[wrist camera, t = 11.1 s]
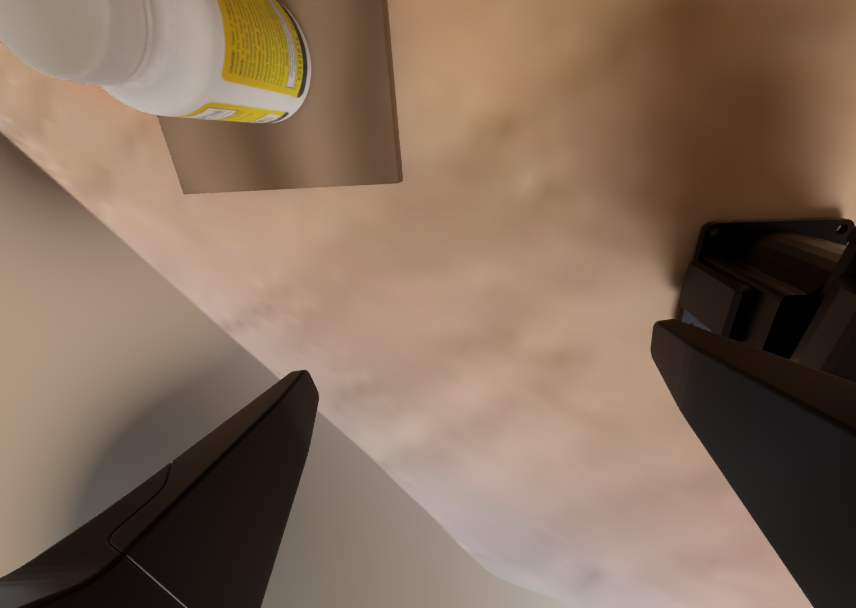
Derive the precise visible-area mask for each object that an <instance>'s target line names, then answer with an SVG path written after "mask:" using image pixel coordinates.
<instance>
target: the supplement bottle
mask: <svg viewBox="0 0 856 608" xmlns="http://www.w3.org/2000/svg"><path fill="white" fill-rule="evenodd" d="M0 41H1V43H2V44H3V45H4V46H5V47H6V48H7V49H8V50H9V51H10V52H12V53H13V54H14V55H15V56H16V57H17V58H19V59H20V60H21V61H22V62H24V63H25V64H27V65H28V66H30V67H31V68H33V69H35V70H37V71H39V72H41V73H43V74H46V75H48V76H51V77H54V78H58V79H63V80H69V81H75V82H81V83H87V84H93V85H99V86H100V87H102V88H103V89H104V90H105V91H106V92H108V93H109V94H110V95H112V96H113V97H115V98H116V99H117V100H119V101H121V102H122V103H124V104H126V105H127V106H130V107H132V108H134V109H136V110H139V111H142V112H145V113H149V114H153V115H160V116H168V117H182V118H196V119H206V120H222V121H235V122H248V123H275V122H280V121H283V120H285V119H287V118H289V117H290V116H291V115H293V114H294V113H295V112H296V111H297V110H298V109H299V108H300V106H301V105H302V103H303V102H304V100H305V98H306V95H307V93H308V90H309V86H310V80H311V58H310V52H309V48H308V45H307V41H306V39H305V36H304V34H303V32H302V30H301V28H300V26H299V24H298V22H297V21H296V19H295V18H294V17H293V15H292V14H291V13H290V12H289V11H288V9H287V8H286V7H285V6H284V5H282V4H281V3H280V2H279V1H278V0H0Z"/></svg>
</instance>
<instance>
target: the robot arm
mask: <svg viewBox="0 0 856 608" xmlns="http://www.w3.org/2000/svg"><path fill="white" fill-rule="evenodd" d="M840 225H841V228H840V229H839V230H838V231H836V232H835V230H836V228H837V227H838V226H840ZM714 228H717V231H716V233H715V234H714V235H711V236H710V232H711V230H713V229H714ZM848 242H849V243H848ZM847 243H848V245H847ZM679 304H680V306H681V309H680V313H679V317H678V320H676V319H669V320H662V321H657V322H656V323H655V324H654V326H653V332H652V341H651V355H652V358H653V360H654V362H655V364H656V366H657V368H658V370H659V372H660V373H661V375H662V377H663V379H664V381H665V383H666V385H667V387H668V389H669V391H670V393H671V394H672V396H673V398H674V400H675V402H676V404H677V406H678V407H679V409H680V411H681V413H682V414H683V416H684V417H685V419H686V420H687V422H688V423H689V425H690V426H691V428H692V429H693V431H694V432H695V434H696V435H697V437H698V438H699V440H700V441H701V443H702V444H703V445H704V447H705V448H706V450H707V451H708V453H709V454H710V456H711V457H712V459H713V460H714V462H715V463H716V465H717V466H718V468H719V469H720V470H721V472H722V473H723V475H724V476H725V478H726V479H727V481H728V482H729V484H730V485H731V487H732V488H733V490H734V491H735V493H736V494H737V495H738V497H739V498H740V500H741V501H742V503H743V504H744V506H745V507H746V509H747V510H748V512H749V513H750V515H751V516H752V518H753V519H754V521H755V522H756V523H757V525H758V526H759V528H760V529H761V531H762V532H763V534H764V535H765V537H766V538H767V540H768V541H769V543H770V544H771V546H772V547H773V548H774V550H775V551H776V553H777V554H778V556H779V557H780V559H781V560H782V562H783V563H784V565H785V566H786V568H787V569H788V571H789V572H790V573H791V575H792V576H793V578H794V579H795V581H796V582H797V584H798V585H799V587H800V588H801V590H802V591H803V593H804V594H805V596H806V597H807V598H808V600H809V601H810V603H811V604H812V606H813V607H814V608H856V226H855V225H854V222H853V221H851V220H849V219H845V218H839V217H837V218H804V219H770V220H736V221H712V222H709V223H707V224H705V225H704V226H703V227H702V229H701V232H700V236H699V240H698V243H697V247H696V251H695V255H694V259H693V261H692V262H691V263H690V264H689V267H688V271H687V275H686V279H685V283H684V286H683V290H682V294H681V298H680V302H679ZM689 323H691V325H690V324H689ZM318 402H319V394H318V390H317V388H316V386H315V384H314V382H313V380H312V378H311V375H310V373H309V372H308V371H307V370H299V371H293V372H291V373H289V374H288V375H287V376H285V377H284V378H283V379H281V380H280V381H279V382H277V383H276V384H275V385H273V386H272V387H271V388H269V389H268V390H267V391H265V392H264V393H263V394H261V395H260V396H259V397H257V398H256V399H255V400H253V401H252V402H251V403H250V404H248V405H247V406H245V407H244V408H243V409H241V410H240V411H239V412H237V413H236V414H235V415H233V416H232V417H231V418H229V419H228V420H227V421H225V422H224V423H223V424H221V425H220V426H219V427H217V428H216V429H215V430H213V431H212V432H211V433H209V434H208V435H207V436H205V437H204V438H203V439H201V440H200V441H199V442H197V443H196V444H195V445H193V446H192V447H191V448H189V449H188V450H187V451H185V452H184V453H183V454H181V455H180V456H179V457H177V458H176V459H175V460H173V462H172V463H169V464H168V465H166V466H165V467H164V468H162V469H161V470H160V471H159V472H157V473H156V474H155V475H153V476H152V477H150V478H149V479H148V480H146V481H145V482H144V483H142V484H141V485H139V486H138V487H137V488H135V489H134V490H133V491H131V492H130V493H128V494H127V495H126V496H124V497H123V498H121V499H120V500H118V501H117V502H116V503H114V504H113V505H111V506H110V507H108V508H107V509H106V510H104V511H103V512H101V513H100V514H98V515H97V516H95V517H94V518H92V519H91V520H89V521H88V522H87V523H85V524H84V525H82V526H81V527H79V528H78V529H77V530H75V531H74V532H72V533H70V534H69V535H68V536H66V537H65V538H63V539H62V540H60V541H59V542H57V543H56V544H54V545H53V546H51V547H50V548H49V549H47V550H46V551H44V552H43V553H41V554H40V555H39V556H37V557H36V558H34V559H32V560H31V561H29V562H28V563H26V564H25V565H23V566H22V567H20V568H18V569H16V570H15V571H13V572H11V573H9V574H7V575H5V576H3V577H1V578H0V608H261V605H262V602H263V599H264V595H265V592H266V589H267V585H268V582H269V579H270V576H271V573H272V569H273V566H274V562H275V559H276V556H277V553H278V549H279V546H280V543H281V540H282V537H283V533H284V530H285V527H286V524H287V520H288V517H289V514H290V511H291V508H292V504H293V501H294V497H295V495H296V491H297V488H298V485H299V481H300V478H301V475H302V472H303V468H304V465H305V462H306V459H307V455H308V452H309V447H310V443H311V438H312V433H313V428H314V422H315V417H316V412H317V407H318Z"/></svg>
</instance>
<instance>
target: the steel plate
mask: <svg viewBox="0 0 856 608" xmlns="http://www.w3.org/2000/svg"><path fill="white" fill-rule="evenodd" d="M278 1H279V2H280V3H281V4H282V5H284V6H285V7H286V8H287V9H288V11H289V12H290V13H291V14H292V15H293V17H294V18H295V19H296V21H297V22H298V24H299V26H300V28H301V30H302V32H303V34H304V36H305V39H306V41H307V45H308V48H309V52H310V58H311V80H310V86H309V90H308V93H307V95H306V98H305V100H304V102H303V103H302V105H301V106H300V108H299V109H298V110H297V111H296V112H295V113H294V114H293V115H291V116H290V117H289V118H287V119H285V120H283V121H280V122H275V123H248V122H235V121H222V120H206V119H196V118H182V117H168V116H160V115H157V116H158V119H159V122H160V125H161V128H162V131H163V134H164V137H165V140H166V143H167V146H168V149H169V152H170V155H171V158H172V161H173V164H174V167H175V169H176V172H177V175H178V178H179V181H180V184H181V187H182V190H183V193H184V194H198V193H218V192H237V191H257V190H276V189H295V188H315V187H334V186H354V185H373V184H393V183H400V182H402V181H403V175H402V164H401V153H400V141H399V130H398V118H397V107H396V95H395V84H394V73H393V61H392V50H391V38H390V27H389V15H388V4H387V0H278Z"/></svg>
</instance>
